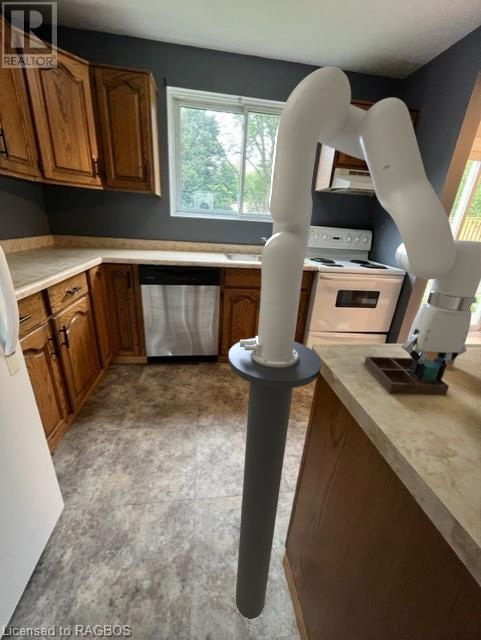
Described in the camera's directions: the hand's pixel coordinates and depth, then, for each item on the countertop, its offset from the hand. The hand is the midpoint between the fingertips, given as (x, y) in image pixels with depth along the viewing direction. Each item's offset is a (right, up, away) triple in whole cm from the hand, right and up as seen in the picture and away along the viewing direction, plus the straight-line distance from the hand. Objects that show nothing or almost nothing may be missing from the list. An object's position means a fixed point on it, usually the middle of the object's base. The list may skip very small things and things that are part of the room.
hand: (425, 375), depth 63 cm
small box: (+11, +1, +13) cm, 17 cm away
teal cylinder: (0, 0, 0) cm, 0 cm away
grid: (-3, -1, +4) cm, 5 cm away
